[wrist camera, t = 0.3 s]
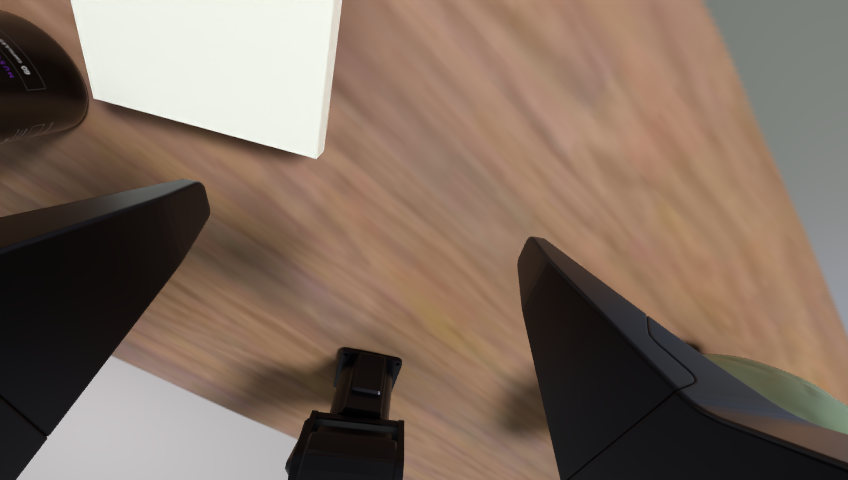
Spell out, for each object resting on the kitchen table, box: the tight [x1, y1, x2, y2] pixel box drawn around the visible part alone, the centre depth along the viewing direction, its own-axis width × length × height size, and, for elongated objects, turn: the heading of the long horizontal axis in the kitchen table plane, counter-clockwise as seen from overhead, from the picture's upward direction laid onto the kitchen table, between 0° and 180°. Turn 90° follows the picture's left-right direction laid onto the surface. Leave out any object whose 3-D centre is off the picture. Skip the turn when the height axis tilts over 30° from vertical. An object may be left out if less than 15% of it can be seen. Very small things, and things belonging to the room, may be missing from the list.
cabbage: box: [702, 354, 848, 434], centre depth 26 cm, size 16×19×20 cm
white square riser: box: [71, 0, 342, 159], centre depth 17 cm, size 12×12×4 cm
